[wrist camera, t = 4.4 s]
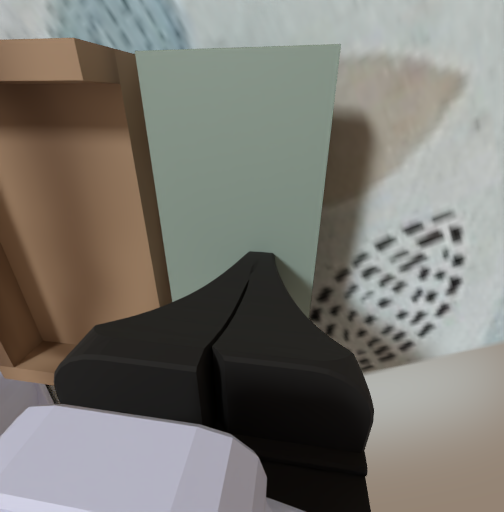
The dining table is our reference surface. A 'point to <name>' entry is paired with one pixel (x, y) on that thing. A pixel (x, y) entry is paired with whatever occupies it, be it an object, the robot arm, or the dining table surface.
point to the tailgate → (239, 157)
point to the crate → (72, 201)
